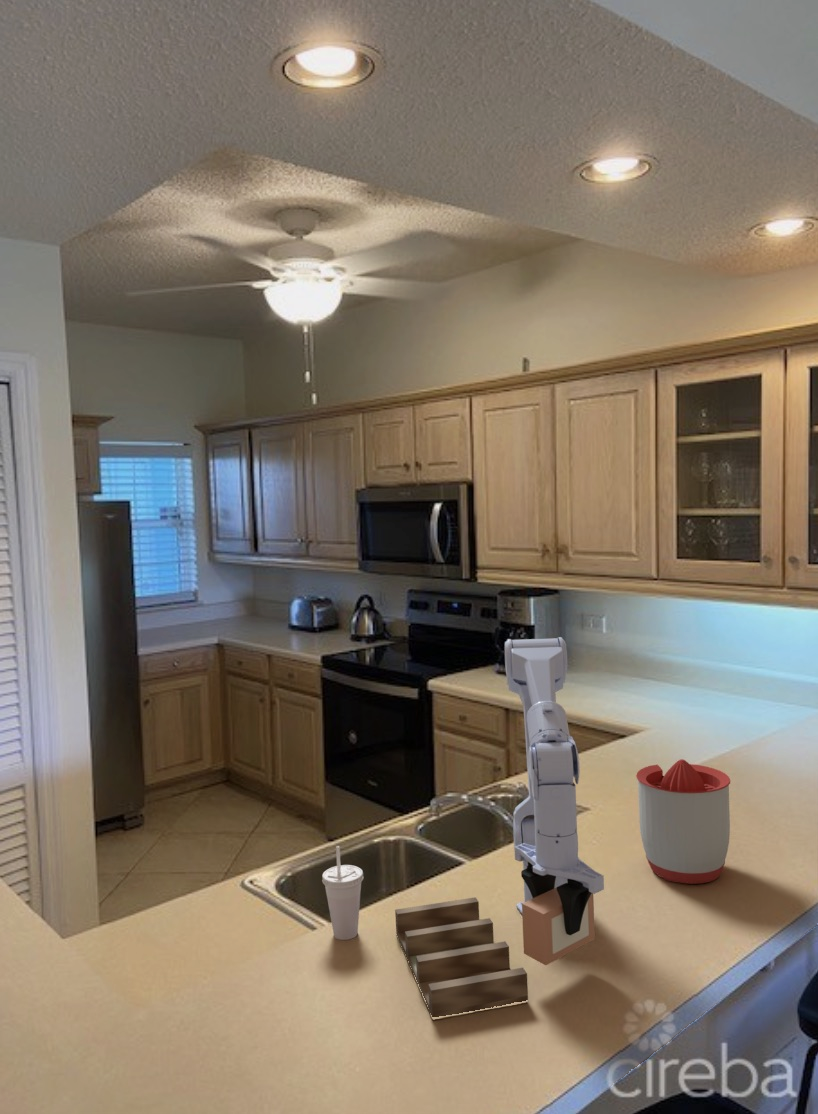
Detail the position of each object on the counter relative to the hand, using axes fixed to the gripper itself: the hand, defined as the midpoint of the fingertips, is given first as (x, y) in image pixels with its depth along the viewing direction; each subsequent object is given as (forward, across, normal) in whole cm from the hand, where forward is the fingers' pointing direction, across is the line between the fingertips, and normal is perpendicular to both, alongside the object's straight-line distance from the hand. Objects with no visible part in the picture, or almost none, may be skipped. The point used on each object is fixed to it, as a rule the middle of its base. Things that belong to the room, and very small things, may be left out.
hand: (559, 925), depth 114 cm
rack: (+7, -12, -9) cm, 17 cm away
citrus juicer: (+8, -8, +41) cm, 43 cm away
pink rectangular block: (+3, 0, 0) cm, 3 cm away
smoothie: (+8, -30, -16) cm, 35 cm away
